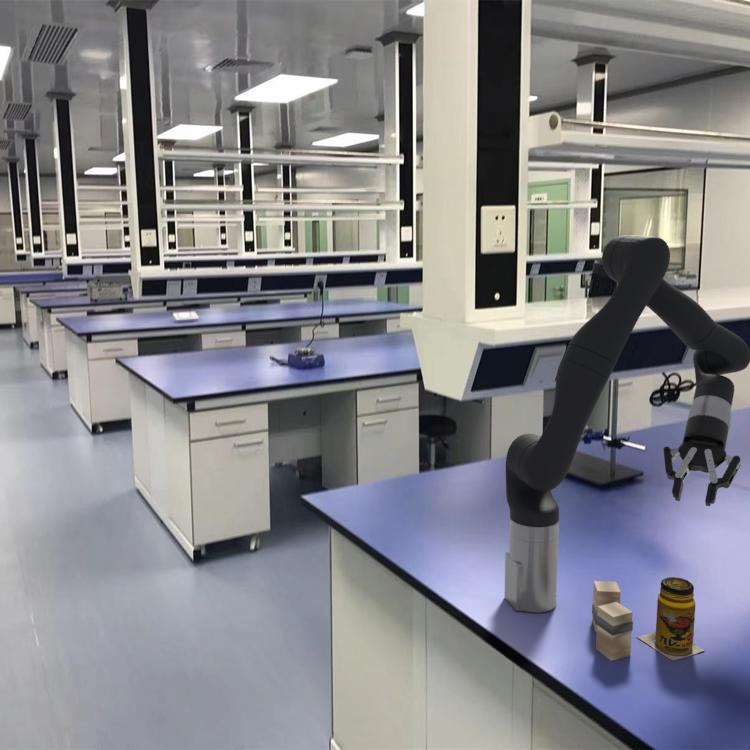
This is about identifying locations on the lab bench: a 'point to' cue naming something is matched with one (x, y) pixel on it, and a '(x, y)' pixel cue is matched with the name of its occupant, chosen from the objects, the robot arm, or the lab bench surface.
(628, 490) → the lab bench surface
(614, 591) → the banded post
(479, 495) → the lab bench surface
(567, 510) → the lab bench surface
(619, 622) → the banded post
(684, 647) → the condiment
